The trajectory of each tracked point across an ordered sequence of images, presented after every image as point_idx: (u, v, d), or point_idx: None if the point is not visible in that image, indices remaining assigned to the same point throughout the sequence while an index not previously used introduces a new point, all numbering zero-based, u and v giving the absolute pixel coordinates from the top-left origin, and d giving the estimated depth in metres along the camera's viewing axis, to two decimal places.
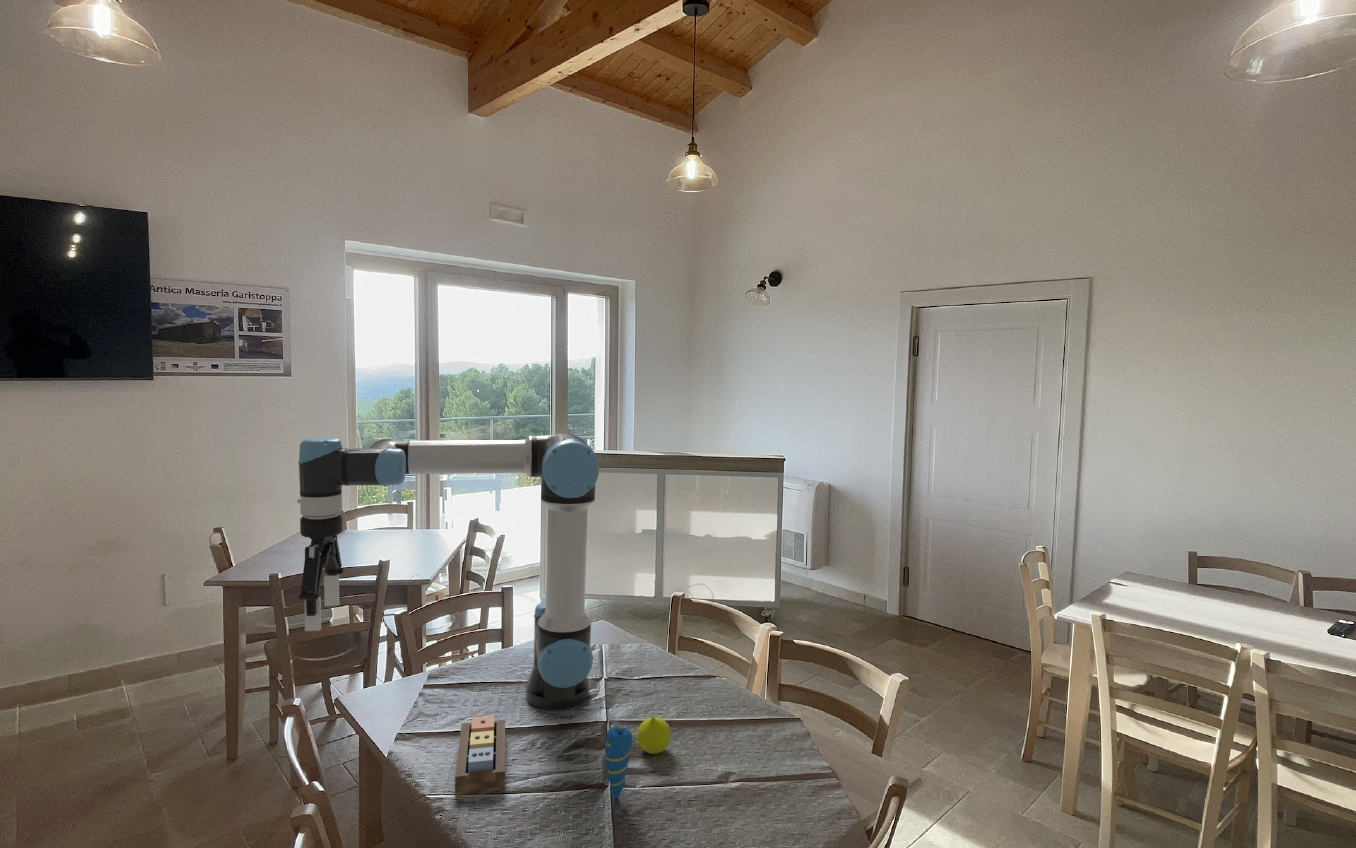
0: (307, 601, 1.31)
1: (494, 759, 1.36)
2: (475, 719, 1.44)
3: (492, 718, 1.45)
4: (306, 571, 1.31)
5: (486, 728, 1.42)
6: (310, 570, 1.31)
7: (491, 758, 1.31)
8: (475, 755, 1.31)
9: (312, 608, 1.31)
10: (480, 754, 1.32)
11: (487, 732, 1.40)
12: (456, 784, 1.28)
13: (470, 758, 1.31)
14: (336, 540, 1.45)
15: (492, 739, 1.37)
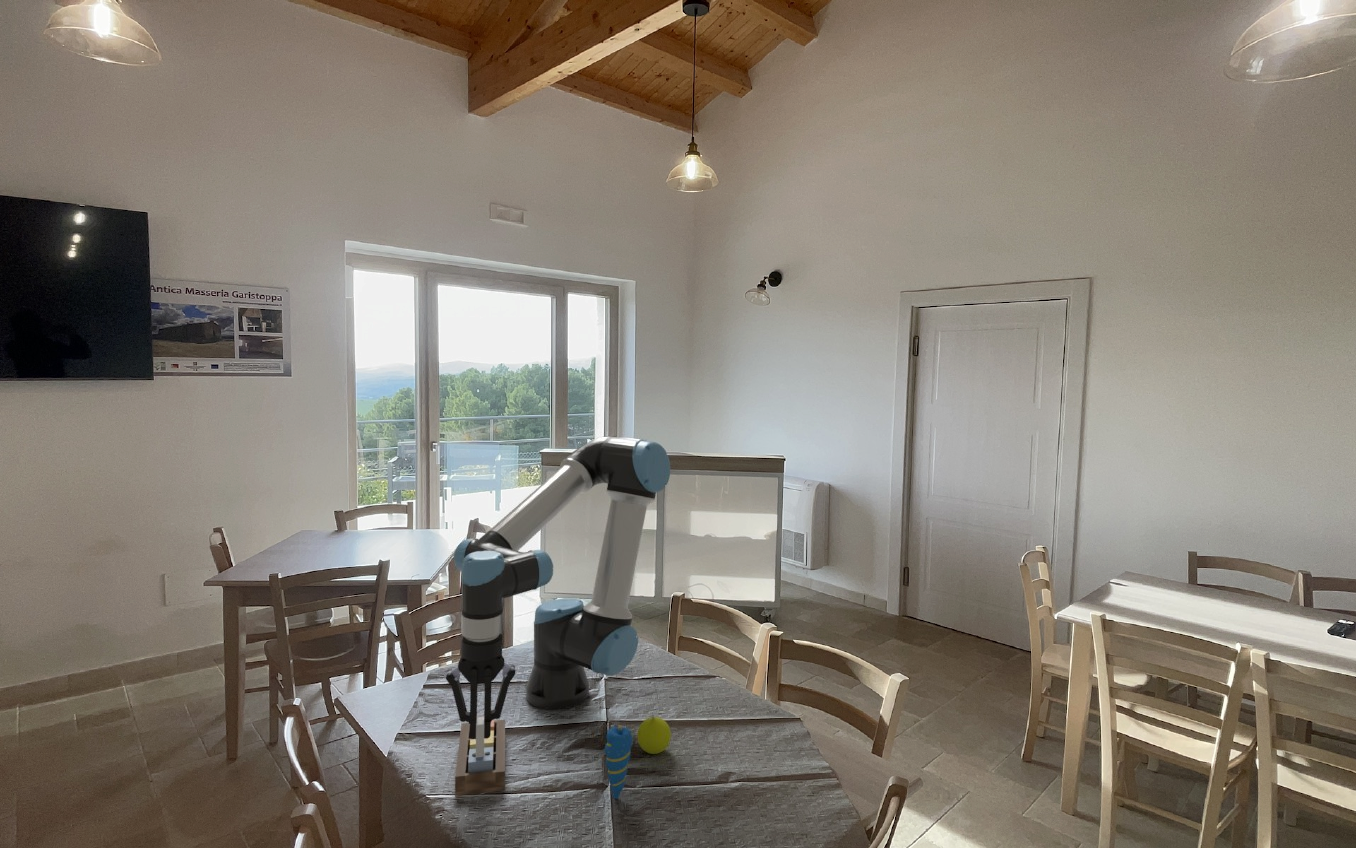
0: None
1: (494, 759, 1.36)
2: None
3: None
4: None
5: None
6: None
7: (491, 758, 1.31)
8: (475, 755, 1.31)
9: None
10: None
11: None
12: (456, 784, 1.28)
13: (470, 758, 1.31)
14: (507, 680, 1.31)
15: (492, 739, 1.37)
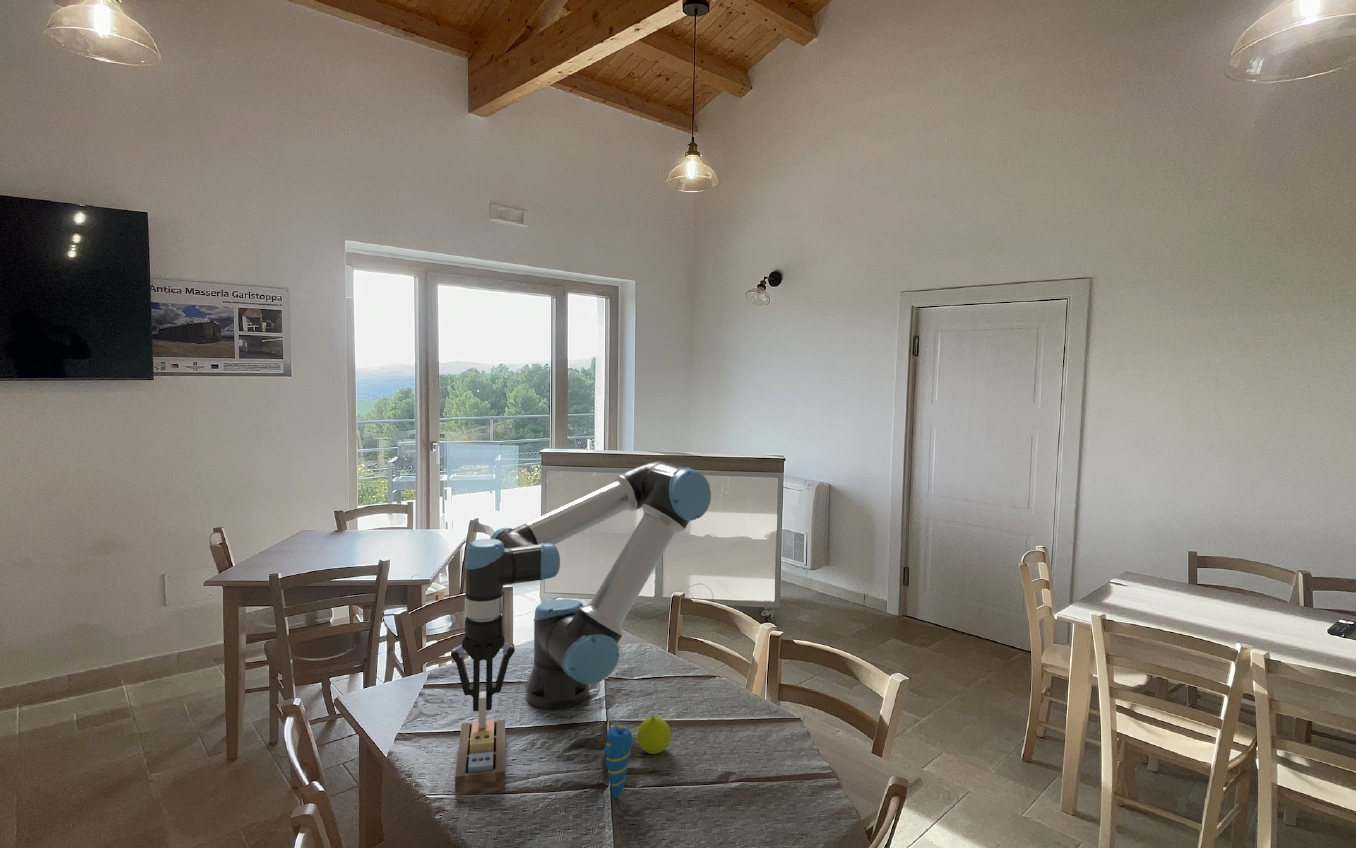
0: None
1: (494, 759, 1.36)
2: (475, 723, 1.45)
3: (492, 722, 1.45)
4: None
5: None
6: None
7: (491, 763, 1.31)
8: (474, 760, 1.32)
9: (473, 703, 1.42)
10: (480, 759, 1.32)
11: (487, 732, 1.40)
12: (456, 784, 1.28)
13: (470, 763, 1.31)
14: (506, 657, 1.42)
15: (492, 739, 1.37)
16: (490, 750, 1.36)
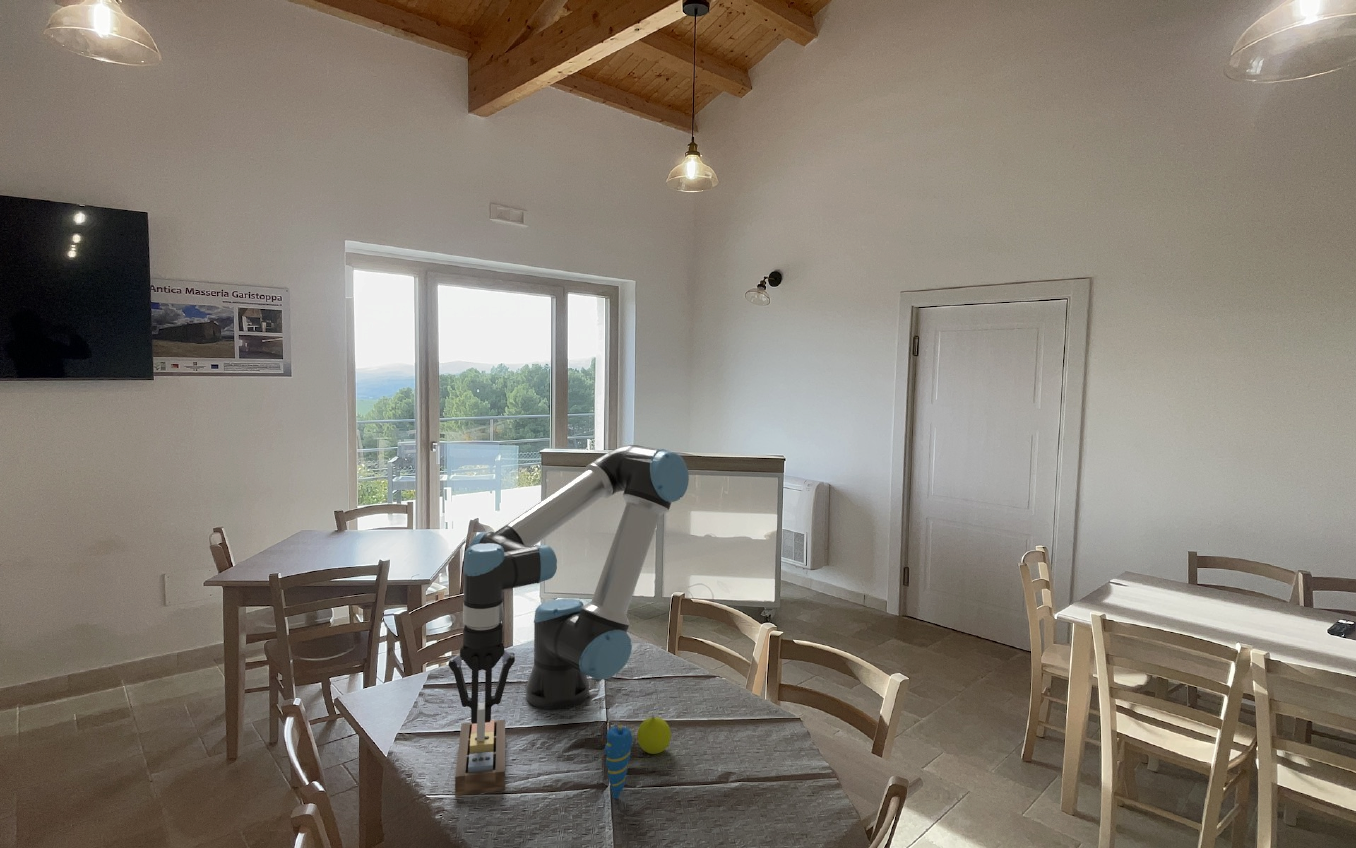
0: None
1: (494, 759, 1.36)
2: (475, 724, 1.45)
3: (492, 723, 1.45)
4: None
5: None
6: None
7: (491, 763, 1.31)
8: (474, 760, 1.32)
9: (471, 715, 1.36)
10: (480, 759, 1.32)
11: (487, 733, 1.40)
12: (456, 784, 1.28)
13: (470, 763, 1.31)
14: (506, 667, 1.36)
15: (492, 740, 1.37)
16: (490, 751, 1.36)
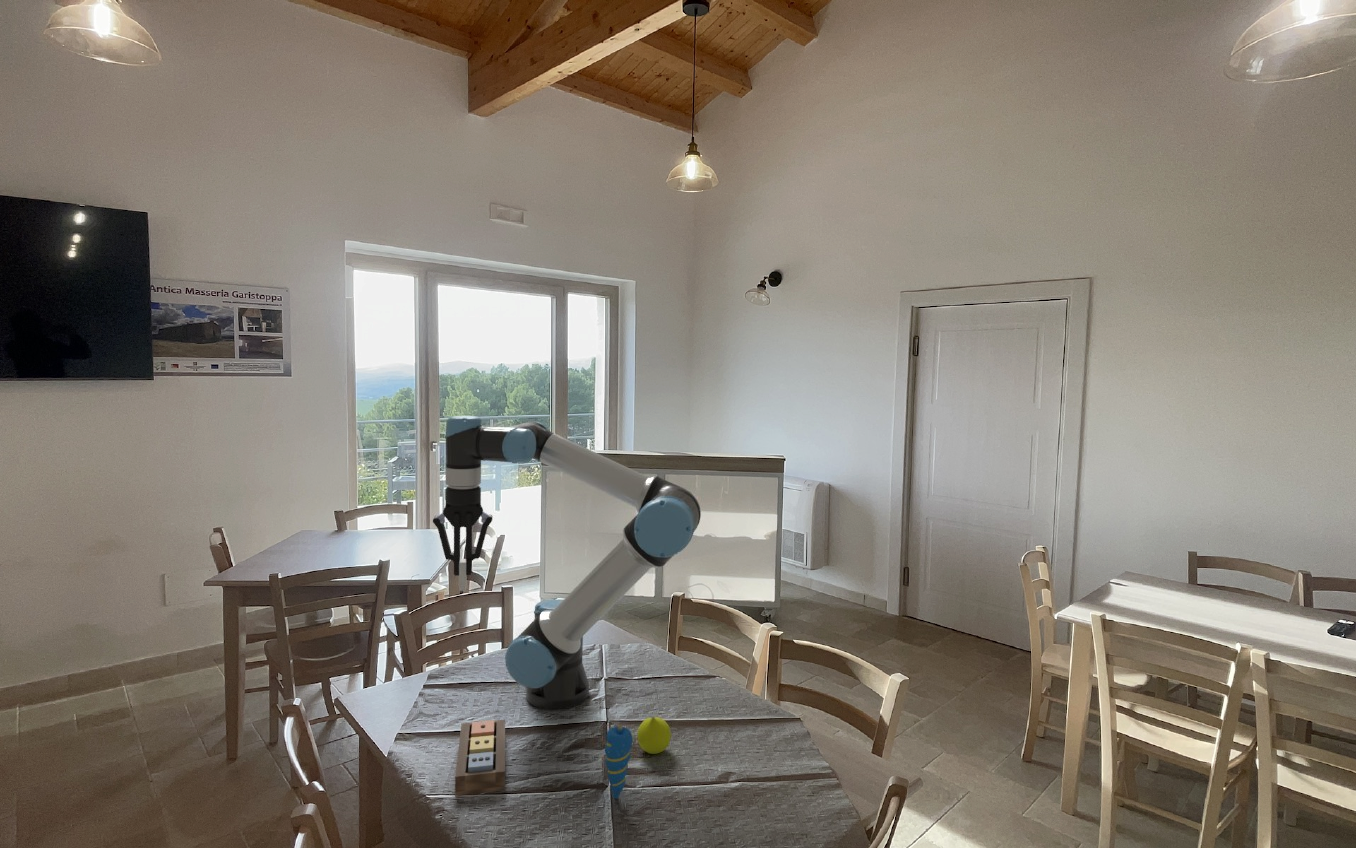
0: None
1: (494, 759, 1.36)
2: (475, 724, 1.45)
3: (492, 723, 1.45)
4: None
5: (486, 732, 1.42)
6: None
7: (491, 763, 1.31)
8: (474, 760, 1.32)
9: None
10: (480, 759, 1.32)
11: (487, 737, 1.40)
12: (456, 784, 1.28)
13: (470, 763, 1.31)
14: (485, 525, 1.53)
15: (492, 744, 1.37)
16: None
